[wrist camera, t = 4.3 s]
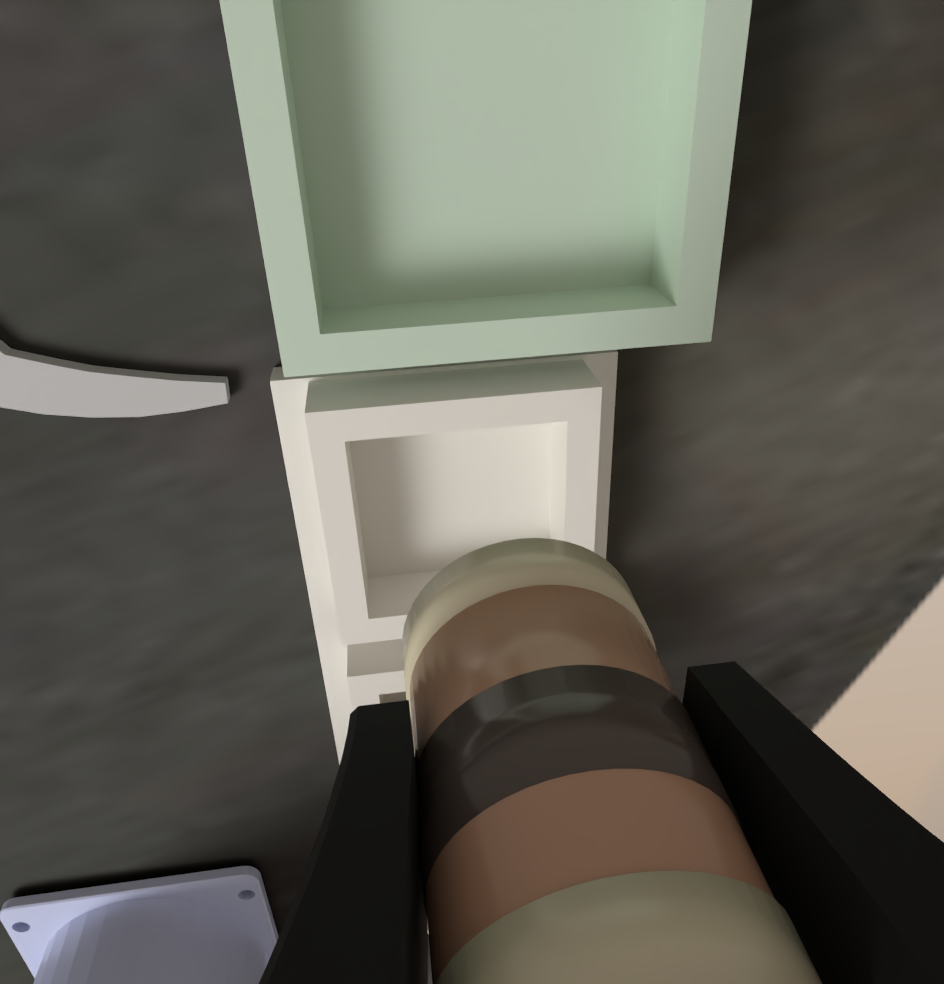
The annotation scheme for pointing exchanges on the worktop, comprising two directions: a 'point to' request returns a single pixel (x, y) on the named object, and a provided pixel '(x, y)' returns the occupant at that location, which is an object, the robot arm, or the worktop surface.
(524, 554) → the cylinder
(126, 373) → the pliers
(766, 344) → the worktop surface
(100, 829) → the worktop surface
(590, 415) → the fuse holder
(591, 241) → the tray
